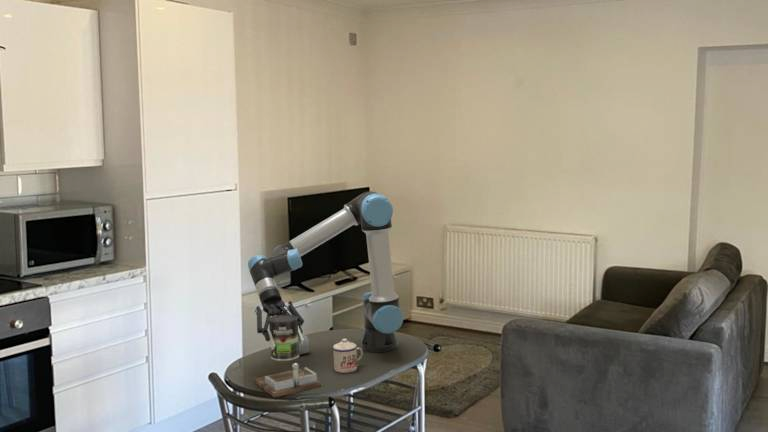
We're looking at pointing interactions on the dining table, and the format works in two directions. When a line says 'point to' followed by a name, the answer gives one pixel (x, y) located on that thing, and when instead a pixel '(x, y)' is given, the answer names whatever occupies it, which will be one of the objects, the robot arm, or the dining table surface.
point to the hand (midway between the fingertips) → (287, 345)
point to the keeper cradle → (292, 380)
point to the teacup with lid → (346, 356)
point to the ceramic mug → (305, 345)
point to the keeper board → (285, 376)
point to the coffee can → (284, 337)
